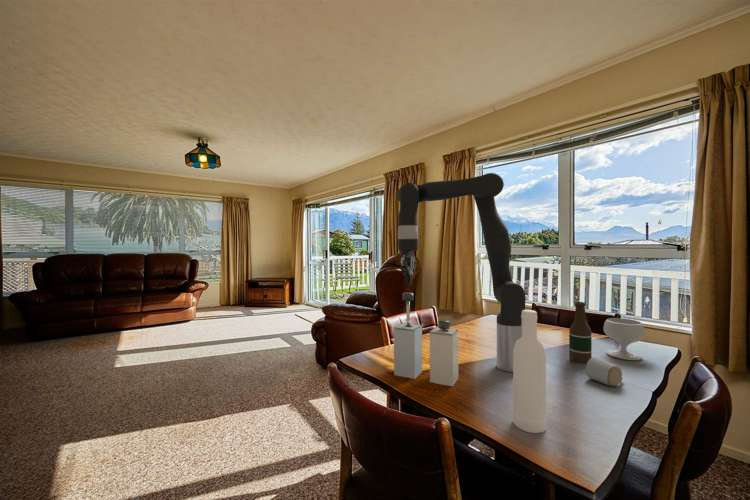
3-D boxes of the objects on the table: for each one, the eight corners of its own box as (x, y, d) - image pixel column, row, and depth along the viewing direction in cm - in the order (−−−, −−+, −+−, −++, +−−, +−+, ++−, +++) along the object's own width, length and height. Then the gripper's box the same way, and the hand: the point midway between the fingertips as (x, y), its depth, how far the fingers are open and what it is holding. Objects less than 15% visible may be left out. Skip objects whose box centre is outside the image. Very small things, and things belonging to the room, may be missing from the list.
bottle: (552, 427, 82) (552, 311, 82) (535, 437, 78) (535, 315, 78) (524, 414, 89) (524, 307, 89) (506, 422, 85) (506, 310, 85)
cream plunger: (454, 361, 113) (454, 320, 113) (450, 367, 108) (450, 323, 108) (438, 358, 116) (438, 318, 116) (433, 364, 111) (433, 321, 111)
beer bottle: (571, 363, 128) (571, 303, 128) (567, 356, 135) (567, 300, 135) (594, 365, 125) (594, 304, 125) (589, 359, 132) (589, 301, 132)
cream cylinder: (609, 389, 104) (609, 365, 104) (584, 379, 112) (585, 357, 112) (629, 384, 108) (630, 362, 108) (604, 375, 116) (605, 354, 116)
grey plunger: (418, 332, 120) (418, 292, 119) (412, 336, 114) (412, 295, 114) (403, 330, 122) (403, 291, 122) (397, 334, 117) (397, 293, 117)
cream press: (458, 377, 114) (458, 329, 114) (452, 386, 107) (452, 334, 107) (436, 373, 118) (436, 326, 117) (429, 382, 111) (429, 331, 110)
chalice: (599, 349, 144) (599, 316, 144) (637, 352, 139) (637, 318, 139) (609, 359, 131) (609, 323, 131) (651, 363, 126) (651, 326, 126)
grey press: (422, 371, 120) (422, 324, 120) (414, 379, 113) (414, 329, 113) (402, 367, 124) (402, 322, 124) (394, 375, 117) (393, 327, 117)
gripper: (411, 237, 110) (411, 287, 111) (423, 238, 122) (423, 283, 122) (391, 237, 114) (391, 286, 114) (405, 238, 126) (405, 282, 126)
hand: (408, 284), depth 118 cm, fingers closed
